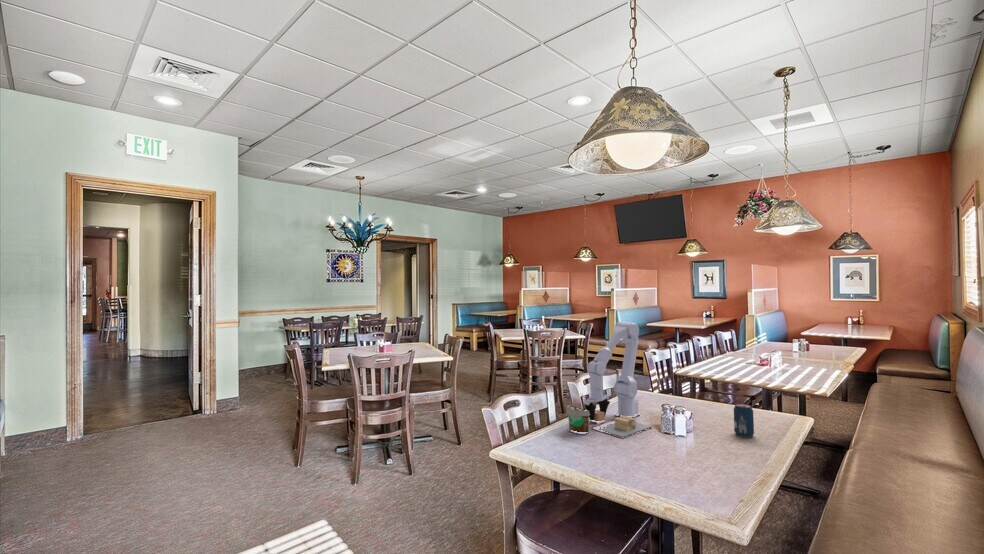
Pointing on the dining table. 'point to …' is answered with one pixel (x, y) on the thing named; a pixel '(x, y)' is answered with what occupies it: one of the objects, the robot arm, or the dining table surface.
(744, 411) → the soda can
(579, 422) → the food container
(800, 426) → the dining table surface
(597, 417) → the terracotta block
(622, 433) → the slate board
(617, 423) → the oak base block
